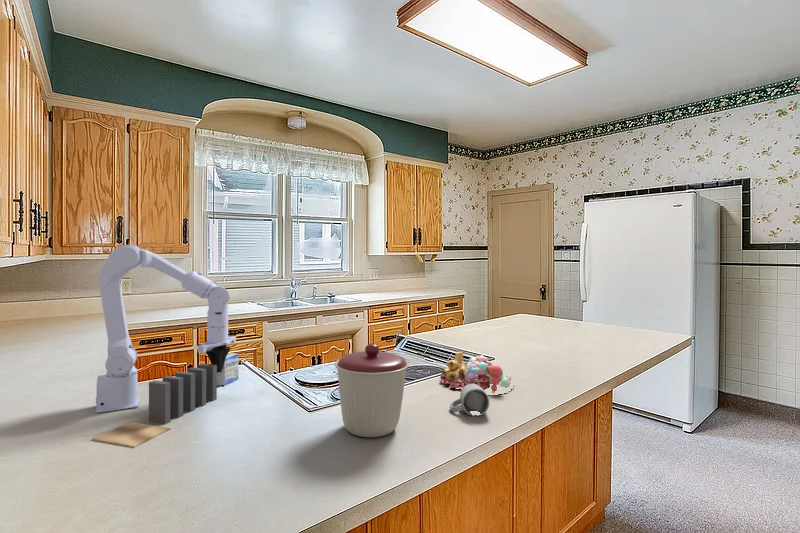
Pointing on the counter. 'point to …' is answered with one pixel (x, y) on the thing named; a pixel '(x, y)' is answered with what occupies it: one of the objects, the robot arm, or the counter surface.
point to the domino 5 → (210, 381)
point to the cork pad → (131, 434)
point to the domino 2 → (175, 395)
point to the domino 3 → (188, 390)
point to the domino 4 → (199, 385)
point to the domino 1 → (159, 402)
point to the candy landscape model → (473, 373)
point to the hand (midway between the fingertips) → (217, 371)
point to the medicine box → (228, 370)
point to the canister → (371, 391)
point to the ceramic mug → (471, 400)
